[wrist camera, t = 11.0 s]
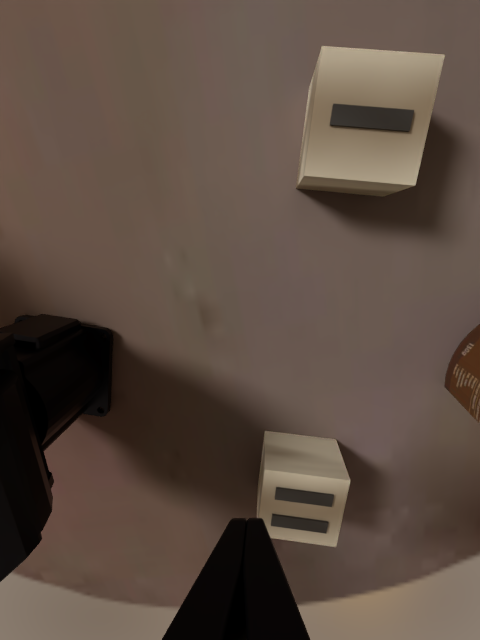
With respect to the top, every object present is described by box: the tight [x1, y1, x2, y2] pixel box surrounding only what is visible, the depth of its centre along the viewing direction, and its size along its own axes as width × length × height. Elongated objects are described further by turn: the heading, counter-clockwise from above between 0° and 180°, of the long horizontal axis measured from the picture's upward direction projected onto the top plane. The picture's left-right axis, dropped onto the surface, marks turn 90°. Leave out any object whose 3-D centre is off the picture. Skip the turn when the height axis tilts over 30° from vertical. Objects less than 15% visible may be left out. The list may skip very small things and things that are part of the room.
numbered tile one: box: [296, 46, 445, 197], centre depth 15 cm, size 5×5×4 cm
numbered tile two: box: [257, 431, 350, 547], centre depth 21 cm, size 5×5×4 cm
